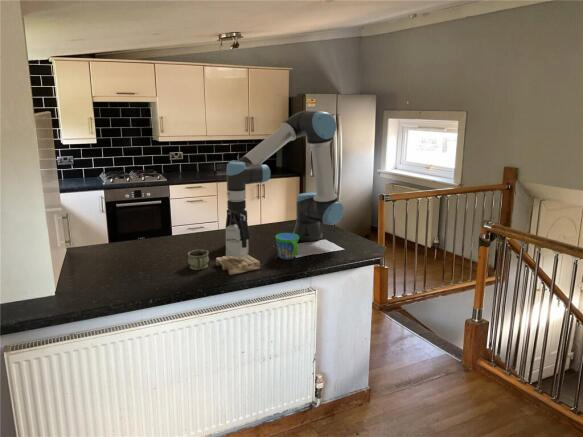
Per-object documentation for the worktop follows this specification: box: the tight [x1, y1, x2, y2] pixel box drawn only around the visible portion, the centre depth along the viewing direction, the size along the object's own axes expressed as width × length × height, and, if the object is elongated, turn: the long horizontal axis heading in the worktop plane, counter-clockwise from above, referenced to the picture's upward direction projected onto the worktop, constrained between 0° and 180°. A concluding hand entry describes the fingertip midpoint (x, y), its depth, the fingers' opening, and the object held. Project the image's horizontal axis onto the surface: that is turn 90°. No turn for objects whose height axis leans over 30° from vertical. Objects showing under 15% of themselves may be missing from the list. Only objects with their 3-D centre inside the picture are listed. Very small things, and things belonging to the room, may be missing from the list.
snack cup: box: [274, 232, 300, 261], centre depth 209 cm, size 16×10×10 cm
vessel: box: [187, 249, 210, 271], centre depth 198 cm, size 12×9×6 cm
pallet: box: [215, 253, 261, 276], centre depth 198 cm, size 14×14×3 cm
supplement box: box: [225, 224, 249, 258], centre depth 196 cm, size 7×7×13 cm
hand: (237, 250), depth 197 cm, fingers closed on supplement box, 10 cm apart
